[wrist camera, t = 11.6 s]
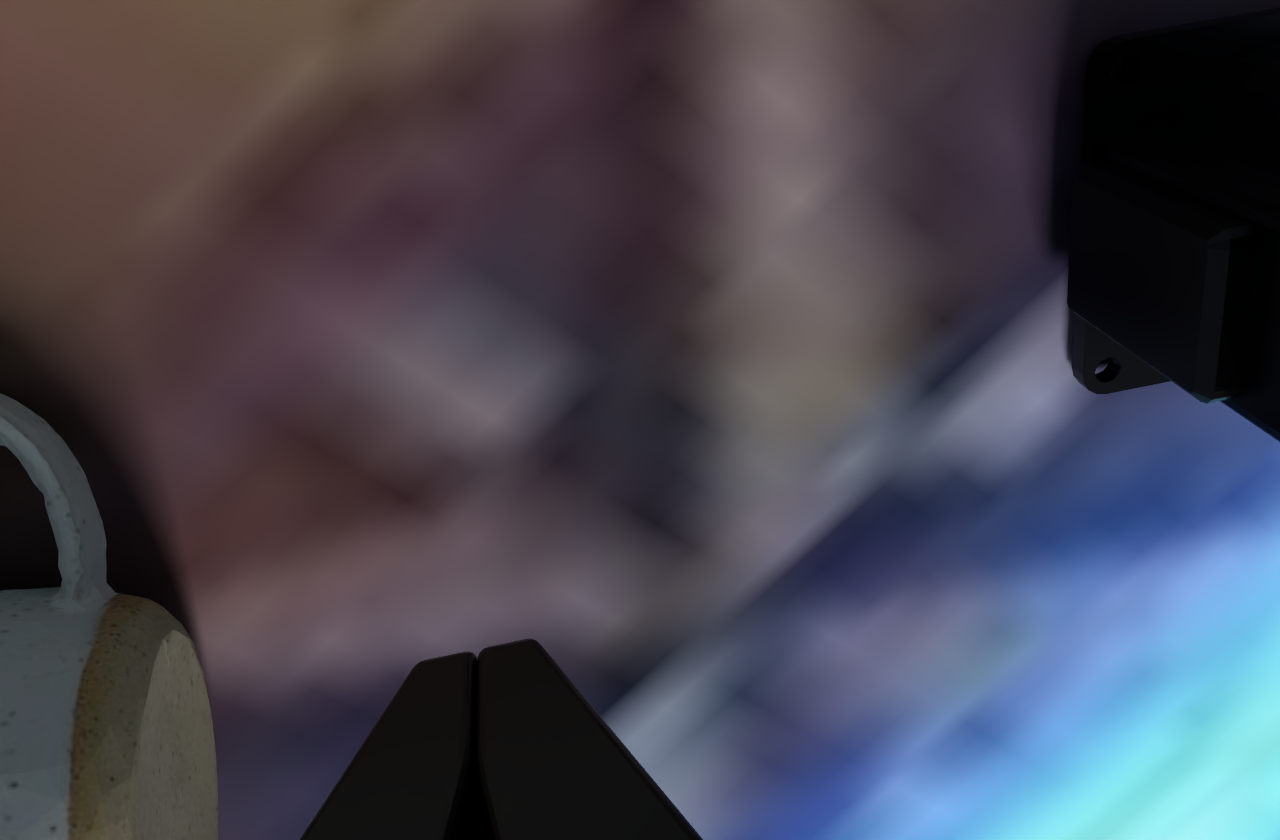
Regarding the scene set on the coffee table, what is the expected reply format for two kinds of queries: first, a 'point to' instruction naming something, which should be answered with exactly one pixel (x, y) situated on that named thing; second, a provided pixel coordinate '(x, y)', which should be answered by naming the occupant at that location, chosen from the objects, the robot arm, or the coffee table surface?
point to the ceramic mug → (95, 685)
